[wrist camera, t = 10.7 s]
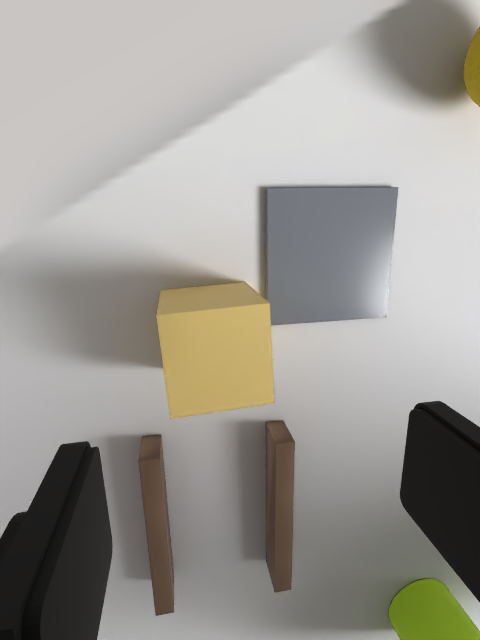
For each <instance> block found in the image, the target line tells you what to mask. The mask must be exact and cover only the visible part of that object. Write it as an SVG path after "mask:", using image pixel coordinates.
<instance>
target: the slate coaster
mask: <svg viewBox="0 0 480 640" xmlns="http://www.w3.org/2000/svg"><path fill="white" fill-rule="evenodd" d="M397 196H398V187H370V188H267V189H266V300H267V301H268V302H269V303H270V320H271V325H282V324H296V323H310V322H324V321H338V320H352V319H367V318H381V317H386V316H387V305H388V294H389V283H390V272H391V261H392V250H393V240H394V229H395V218H396V207H397Z"/></svg>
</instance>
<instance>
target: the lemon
mask: <svg viewBox="0 0 480 640" xmlns="http://www.w3.org/2000/svg"><path fill="white" fill-rule="evenodd" d="M463 74H464V83H465V86H466V89H467V92H468V94H469V96H470V97H471V99H472V100H473V101H474V102H475V103H476V104H477V105H478V106H479V107H480V27H479V28H478V30H477V32H476V34H475V36H474V38H473V40H472V42H471V43H470V45H469V48H468V51H467V55H466V58H465V62H464V73H463Z"/></svg>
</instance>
